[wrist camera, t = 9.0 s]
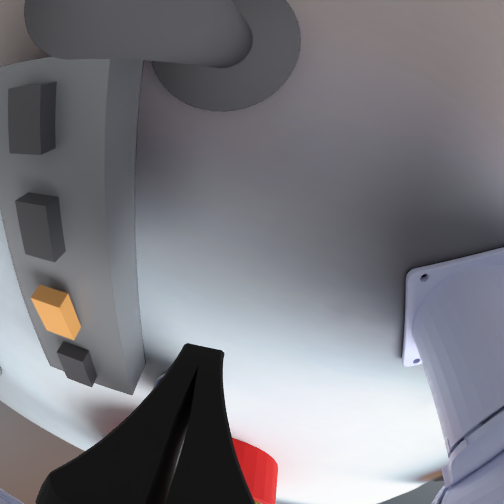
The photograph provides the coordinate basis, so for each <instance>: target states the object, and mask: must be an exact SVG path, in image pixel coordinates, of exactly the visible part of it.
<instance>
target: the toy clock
mask: <svg viewBox="0 0 504 504" xmlns="http://www.w3.org/2000/svg"><path fill="white" fill-rule="evenodd" d="M232 441H233V444H234V448H235V451H236V455H237V458H238V461H239V464H240V467H241V470H242V472H243V475H244V477H245V480H246V483H247V485H248V487H249V490H250V492H251V495H252V497H253V499H254V501H255V503H256V504H275V499H276V487H277V474H278V466H277V463H276V461H275V460H274V459H273V458H272V457H271V456H270V455H269V454H267V453H265V452H264V451H262V450H260V449H259V448H257V447H254V446H252V445H250V444H248V443H245V442H242V441H240V440H237V439H234V438H232Z"/></svg>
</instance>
